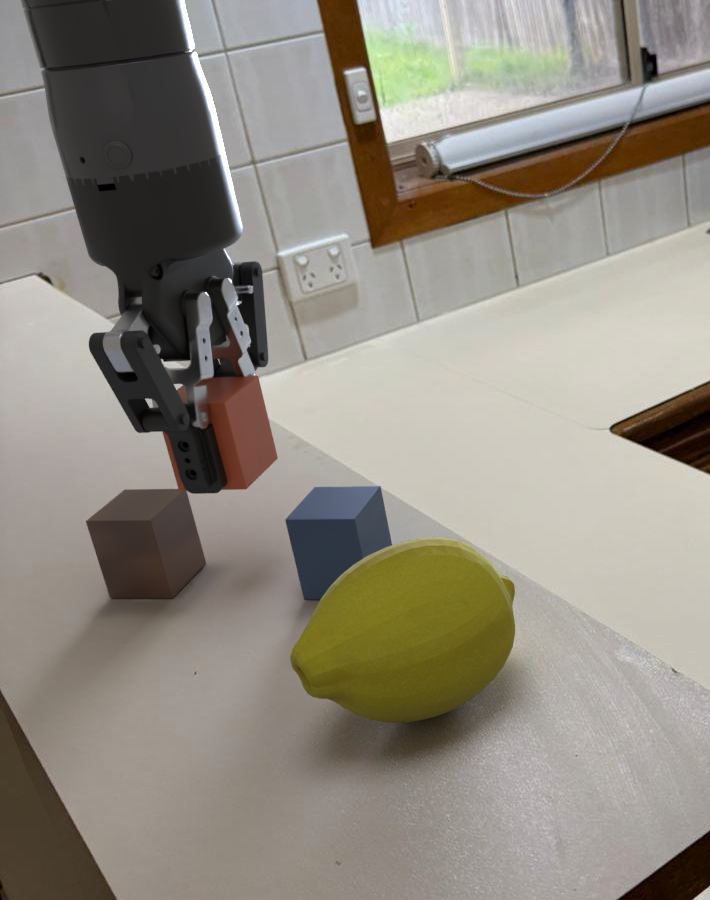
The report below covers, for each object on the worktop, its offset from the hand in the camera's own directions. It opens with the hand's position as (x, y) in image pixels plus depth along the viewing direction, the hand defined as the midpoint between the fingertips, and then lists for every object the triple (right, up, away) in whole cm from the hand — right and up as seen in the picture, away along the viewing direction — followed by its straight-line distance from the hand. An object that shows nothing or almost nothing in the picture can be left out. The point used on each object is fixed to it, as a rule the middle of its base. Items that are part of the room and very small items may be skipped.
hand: (227, 470), depth 63 cm
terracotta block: (0, 0, 0) cm, 0 cm away
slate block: (+6, -6, +2) cm, 9 cm away
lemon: (+12, -11, -10) cm, 19 cm away
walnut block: (-5, -6, +4) cm, 9 cm away
